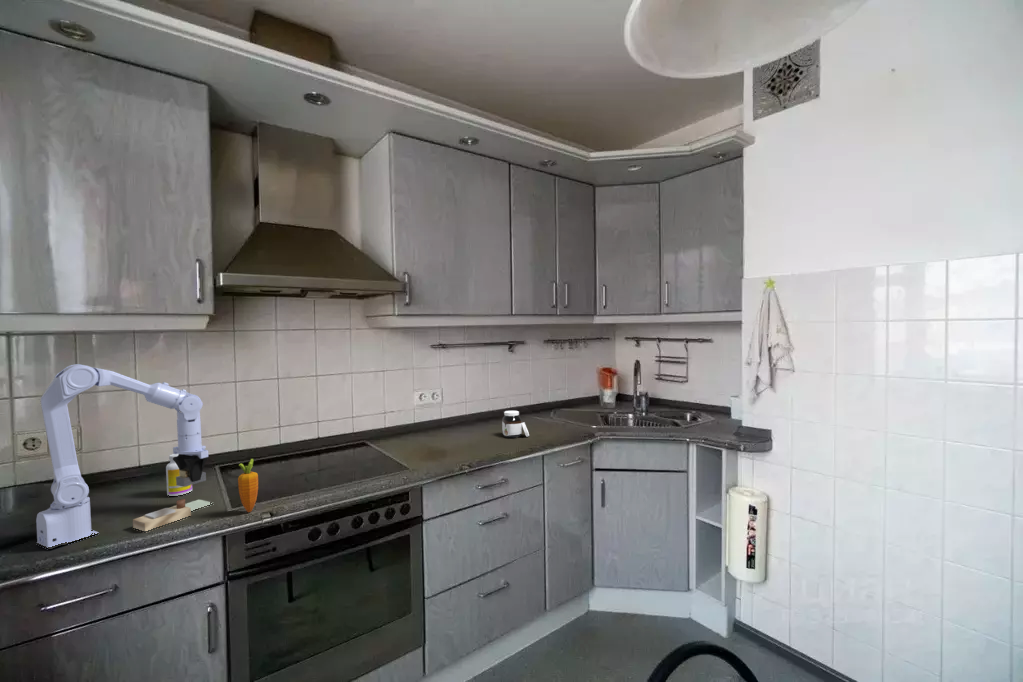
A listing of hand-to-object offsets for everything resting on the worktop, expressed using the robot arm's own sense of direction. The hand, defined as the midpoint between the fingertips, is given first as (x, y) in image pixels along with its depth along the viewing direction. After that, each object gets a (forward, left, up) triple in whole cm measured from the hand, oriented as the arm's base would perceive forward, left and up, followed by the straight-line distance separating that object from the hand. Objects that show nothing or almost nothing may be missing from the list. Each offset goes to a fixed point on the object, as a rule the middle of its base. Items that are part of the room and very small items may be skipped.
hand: (191, 479), depth 135 cm
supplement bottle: (+5, +17, -8) cm, 19 cm away
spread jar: (+113, -51, -8) cm, 124 cm away
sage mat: (0, 0, -8) cm, 8 cm away
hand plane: (-10, -4, -8) cm, 14 cm away
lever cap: (0, 0, -1) cm, 1 cm away
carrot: (+4, -20, -8) cm, 22 cm away
